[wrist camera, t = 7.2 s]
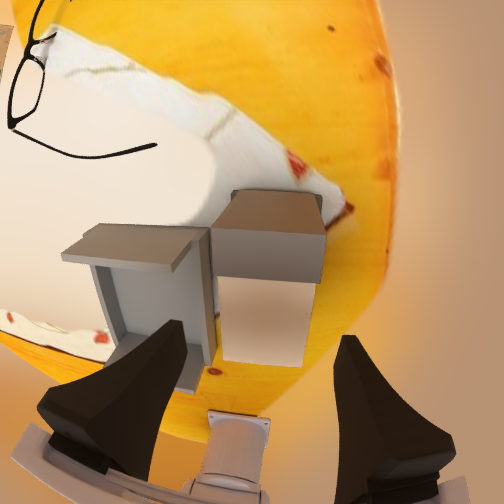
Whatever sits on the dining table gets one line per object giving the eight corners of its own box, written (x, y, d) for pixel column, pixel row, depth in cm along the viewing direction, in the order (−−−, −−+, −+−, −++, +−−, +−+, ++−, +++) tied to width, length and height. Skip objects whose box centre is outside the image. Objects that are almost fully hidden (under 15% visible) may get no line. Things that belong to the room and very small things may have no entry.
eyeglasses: (79, -20, 12) (54, -30, 8) (227, -24, 12) (214, -49, 9) (30, 130, 19) (1, 136, 16) (152, 168, 20) (125, 179, 16)
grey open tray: (217, 347, 26) (201, 396, 21) (126, 331, 27) (99, 370, 22) (209, 227, 21) (180, 265, 15) (99, 223, 22) (55, 252, 17)
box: (302, 298, 21) (304, 369, 15) (240, 293, 22) (220, 362, 15) (313, 193, 18) (326, 235, 11) (240, 189, 18) (210, 228, 12)
